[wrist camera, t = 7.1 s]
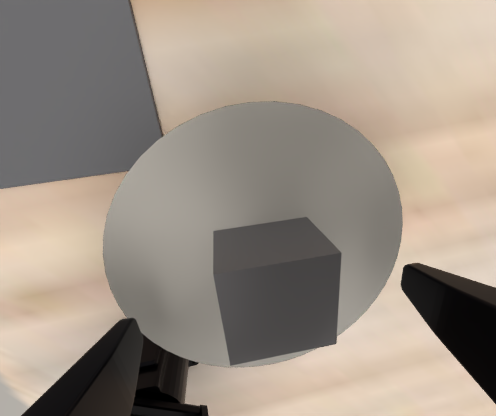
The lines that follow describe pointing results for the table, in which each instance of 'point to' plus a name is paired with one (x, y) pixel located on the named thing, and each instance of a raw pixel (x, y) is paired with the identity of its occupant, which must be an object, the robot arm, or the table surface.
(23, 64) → the charcoal mat
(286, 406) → the table surface
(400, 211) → the lid
